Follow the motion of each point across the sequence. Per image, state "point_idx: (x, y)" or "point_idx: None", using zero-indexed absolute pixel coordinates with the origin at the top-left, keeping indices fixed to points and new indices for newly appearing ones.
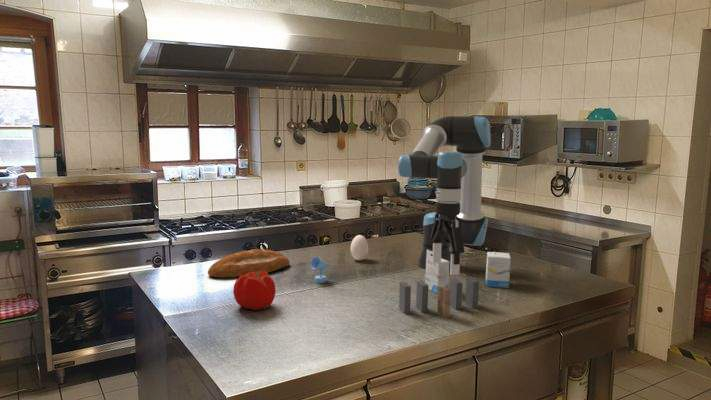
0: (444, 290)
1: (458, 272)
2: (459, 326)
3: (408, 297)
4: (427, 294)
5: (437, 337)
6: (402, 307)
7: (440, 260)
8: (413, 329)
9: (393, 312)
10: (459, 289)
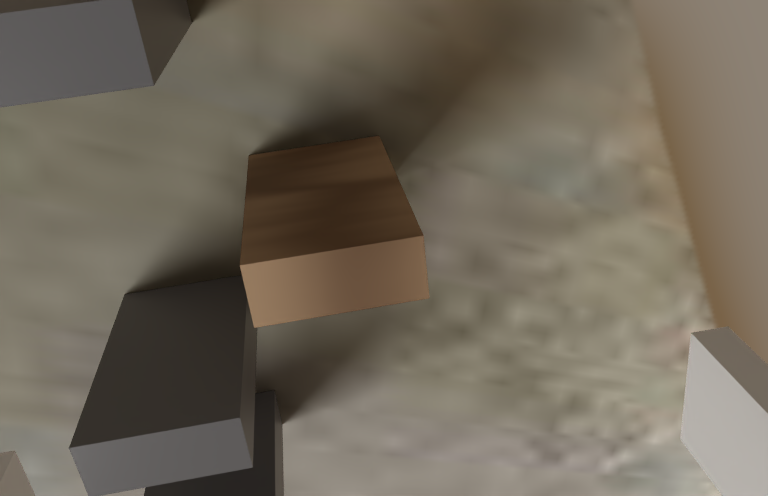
0: (420, 298)
1: (743, 354)
2: (567, 111)
3: (277, 491)
4: (245, 363)
5: (694, 299)
6: None
7: (5, 489)
8: (548, 404)
9: None
10: (157, 26)
